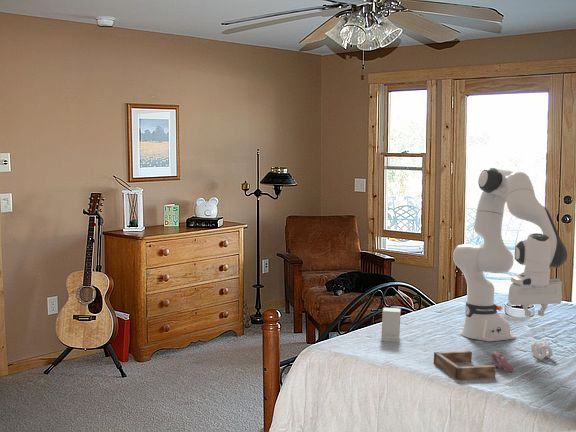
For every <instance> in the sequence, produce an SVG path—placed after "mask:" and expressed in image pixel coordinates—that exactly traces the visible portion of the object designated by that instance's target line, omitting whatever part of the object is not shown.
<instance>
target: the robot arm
mask: <svg viewBox="0 0 576 432" xmlns="http://www.w3.org/2000/svg"><path fill="white" fill-rule="evenodd" d="M478 188H479V189H480V190H481V191H482V192H481V195H480V198H479V199H478V204H477V208H476V213H475V218H474V219H475V220H474V225H473V229H474V231H475V233H476V234H477V235H478V236H479V237H481V238H482V239H483V242H484V244H483V245H481V244H471V243H465V244H464V243H463V244H458V245H457V246H455V248H454V250H453V253H452V259H453V262H454V264H455V266H456V267H457V268H458V269H459V270H460V271H461V273H462V275H463V276H464V278H465V282H466V294H467V295H466V302H465V307H464V308H465V312H464V313H465V318H464V323H463V328H462V331H461V333H460V334H461V335H462V336H463V337H465V338H469V339H473V340H477V341H478V340H479V341H483V342H489V343H490V342H496V341H497V342H498V341H504V340H505V341H507V340H514V339H516V338H517V337H516V334H515V333H513V332H511V326H510V323H509V321H507V320H506V319H505V318H504V317H503V316H502V315H501V314H500V313H498V311H500V312H501V311H502V310H503V306H502V305H499V304H498V305H497V304H495V286H494V284H493V283H492V282H491V281H490V280H488V279H487V278H486V276H485V275H484V272H485V273H492V274H502V273H503V274H504V273H505V274H506V273H508V272H509V271H510V270H511V269H512V268H513V265H514V262H515V261H516V262H517V263H518V264H519V265H522V266H524V270H523V272H521V273H518V274H515V275H513V276H511V278H510V281H511V284H510V285H509V289H508V296H507V298H508V299H507V300H508V302H509V304H511V305H514V306H518V305H519V306H521V307H522V309H523V310H524V316H525V317H531V316H532V311H530V310H529V308H530V305H540V306H541V307H540V309H539V310H537V315H538V316H539V317H544V316H545V311H546V310H547V309H548V305H555V304H557V305H558V304H561V303H562V301H563V291H562V286H563V285H562V284H563V282H562V280H561V279H559V278H557V277H555V278H551V277H550V275H551V270H550V268H555V269H558V268H560V267H561V266H563V265H564V264H565V263H566V261H567V259H568V251H567V247H566V245H565V244H564V242H563V241H562V239H561V238H560V235H559V232H558V230H557V228H556V226H555V225H556V224H555V223H554V220H553V218H552V216H551V214H550V212H549V209H548V208H547V207H545V206H544V205H543V204H542V203H540V201H539V200H538V198H537V197H536V194H535V190H534V186H533V183H532V181H531V179H530V176H529V175H528V174H526V173H525V172H522V171H516V172H514V171H511V170H504V169H497V168H496V167H486V168H485V169H484V170H482V171H481V173H480V175H479V177H478ZM505 205H506V206H507V209H508V211H509V213H510V214H511V215H512V216H514V217H515V218H517V219H519V220H523V221H525V222H526V221H527V222H529V223H532V224H533V225H534V224H535V226H538V228H539V229H540V230H541V232H542V233H538V232H537V233H530V234H529V235H528V236H527V239H524V240H521V241H519V242H517V244H516V245H515V246H514V255H513V253H512V252H511V250H510V249H508V247H507V246H506V245H505V243H504V240H503V236H502V228H503V227H502V226H503V218H504V212H505ZM514 260H515V261H514Z"/></svg>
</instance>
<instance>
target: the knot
mask: <svg viewBox="0 0 576 432" xmlns="http://www.w3.org/2000/svg"><path fill="white" fill-rule="evenodd" d="M530 348H531V352H532V356H533V357H535V359H537V360H538V361H539V360H540V361H542V360H544V359H550V358H551V357H552V356H553V355H554V354H553V352H554V351H553V349H552V347H551V346H549V345H547V342H545V341H542V342H539V343H538V342H532V343H531V347H530ZM547 352H548V353H547ZM539 354H540V355H539Z"/></svg>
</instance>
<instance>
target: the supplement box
mask: <svg viewBox="0 0 576 432" xmlns="http://www.w3.org/2000/svg"><path fill="white" fill-rule="evenodd" d="M401 310H402V309H401V308H398V307H397V308H396V307H383V308H382V315H381V318H382V319H381V336H380V337H381V339H380V341H382V342H389V343H390V342H391V343H399V342H400V334H401V333H400V332H401V313H402V312H401Z"/></svg>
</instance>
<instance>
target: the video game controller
mask: <svg viewBox="0 0 576 432" xmlns="http://www.w3.org/2000/svg"><path fill="white" fill-rule="evenodd" d="M490 360H491V361H493V362H494V364H495V366H496V368H497V367H498V368H499V369H500V370H501V371H502V370H505V371H507V372H509V373H513V372H514V371H515V368H514V366H513V365H512V364H511V363H510V362H508V360H507V359H506V357H504V355H503V353H501V352H499V351H495V352H492V353H490Z"/></svg>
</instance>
